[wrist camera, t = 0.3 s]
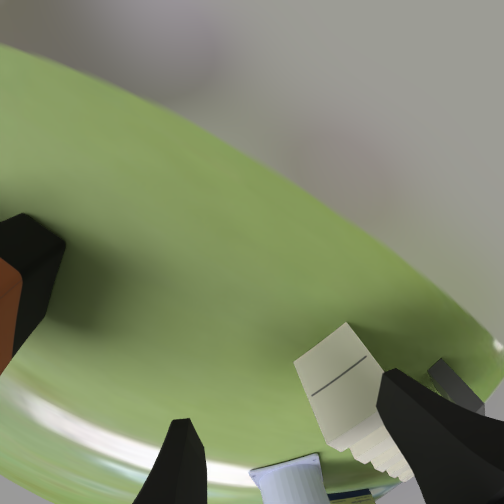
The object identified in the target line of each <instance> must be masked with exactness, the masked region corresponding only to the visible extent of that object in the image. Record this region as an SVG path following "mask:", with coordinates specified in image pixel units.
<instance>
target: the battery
mask: <svg viewBox="0 0 504 504" xmlns="http://www.w3.org/2000/svg"><path fill="white" fill-rule="evenodd" d="M64 251H65V242H64V240H63V239H61V238H60V237H58V236H57V235H55V234H54V233H52V232H51V231H49V230H48V229H46V228H45V227H43V226H42V225H40V224H39V223H37V222H36V221H34V220H33V219H32V218H30V217H29V216H27V215H26V214H24V213H21V214H19V215H16V216H14V217H11V218H9V219H7V220H5V221H2V222H0V375H1V374H2V372H3V371H4V369H5V368H6V367H7V365H8V364H9V362H10V361H11V360H12V358H13V357H14V355H15V354H16V353H17V351H18V350H19V349H20V347H21V346H22V345H23V343H24V342H25V341H26V339H27V338H28V337H29V336H30V334H31V333H32V332H33V330H34V329H35V328H36V327H37V325H38V324H39V323H40V322H41V321H42V319H43V318H44V316H45V314H46V310H47V306H48V302H49V299H50V295H51V292H52V288H53V285H54V281H55V278H56V275H57V272H58V269H59V265H60V262H61V260H62V257H63V254H64Z"/></svg>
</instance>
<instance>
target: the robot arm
mask: <svg viewBox="0 0 504 504" xmlns="http://www.w3.org/2000/svg"><path fill="white" fill-rule="evenodd" d="M376 408H377V411H378V413H379V415H380V418H381V420H382V422H383V424H384V426H385V428H386V429H387V431H388V433H389V434H390V436H391V437H392V439H393V441H394V442H395V444H396V445H397V447H398V449H399V450H400V452H401V453H402V455H403V456H404V458H405V460H406V461H407V463H408V464H409V466H410V468H411V470H412V472H413V474H414V476H415V478H416V480H417V482H418V485H419V487H420V489H421V492H422V494H423V497H424V499H425V502H426V504H504V421H500V420H496V419H493V418H489V417H486V416H483V415H480V414H478V413H475V412H472V411H470V410H468V409H465V408H463V407H461V406H459V405H457V404H455V403H453V402H451V401H449V400H447V399H445V398H443V397H442V396H440V395H438V394H436V393H435V392H433V391H431V390H430V389H428V388H426V387H425V386H423V385H422V384H420V383H418V382H417V381H415V380H414V379H412V378H411V377H409V376H408V375H406V374H404V373H403V372H401V371H400V370H398V369H397V368H394V369H392V370H389V371H387V372H384V373H382V378H381V383H380V388H379V393H378V398H377V402H376ZM249 475H250V477H251V478H252V480H253V481H254V482H255V484H256V485H257V486H258V488H259V489H260V490H261V494H262V499H263V504H330V501H329V498H328V496H327V493H326V490H325V487H324V485H323V476H322V471H321V466H320V461H319V456H318V454H316V453H315V454H311V455H308V456H305V457H302V458H298V459H295V460H291V461H288V462H284V463H281V464H277V465H273V466H269V467H264V468H260V469H256V470H251V471H249ZM132 504H207V467H206V459H205V451H204V446H203V444H202V442H201V440H200V438H199V437H198V435H197V433H196V431H195V429H194V426H193V424H192V422H191V420H190V418H187V419H176V420H173V421H172V422H171V424H170V427H169V430H168V432H167V435H166V438H165V440H164V443H163V445H162V448H161V450H160V452H159V455H158V457H157V459H156V461H155V463H154V466H153V468H152V470H151V472H150V474H149V476H148V477H147V479H146V481H145V483H144V485H143V487H142V489H141V490H140V492H139V494H138V495H137V497H136V499H135V500H134V502H133V503H132Z"/></svg>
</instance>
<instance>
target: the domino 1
mask: <svg viewBox="0 0 504 504" xmlns="http://www.w3.org/2000/svg"><path fill="white" fill-rule="evenodd" d="M293 363H294V365H295V368H296V370H297V373H298V375H299V378H300V380H301V383H302V385H303V388H304V390H305V392H306V395H307V397H308V400H309V402H310V405H311V407H312V410H313V412H314V414H315V417H316V419H317V422H318V424H319V427H320V429H321V432H322V434H323V436H324V439H325V441H326V444H327V445H329V446H331V447H333V448H335V449H336V450H338V451H340V452H342V451H344V450H346V449H347V448H349V447H351V446H352V445H354V444H355V443H357V442H359V441H360V440H362V439H363V438H365V437H366V436H368V435H369V434H371V433H372V432H374V431H375V430H377V429H378V428H380V427H381V426H383V425H384V424H383V422H382V420H381V418H380V415H379V413H378V411H377V408H376V402H377V398H378V393H379V388H380V383H381V378H382V373H384V371H383V369H382V368H381V367H380V365H379V364H378V363H377V361H376V360H375V359H374V357H373V356H372V355H371V353H370V352H369V351H368V349H367V348H366V347H365V345H364V344H363V343H362V342H361V340H360V339H359V338H358V336H357V335H356V334H355V332H354V331H353V330H352V329H351V327H350V326H349V325H348V323H347V322H345V323H344V324H343V325H341V326H340V327H339V328H338V329H336V330H335V331H334V332H333V333H331V334H330V335H329V336H327V337H326V338H325V339H324V340H322V341H321V342H320V343H318V344H317V345H316V346H314V347H313V348H312V349H310V350H309V351H308V352H306V353H305V354H303V355H302V356H301V357H299V358H298V359H297V360H295V361H294V362H293Z"/></svg>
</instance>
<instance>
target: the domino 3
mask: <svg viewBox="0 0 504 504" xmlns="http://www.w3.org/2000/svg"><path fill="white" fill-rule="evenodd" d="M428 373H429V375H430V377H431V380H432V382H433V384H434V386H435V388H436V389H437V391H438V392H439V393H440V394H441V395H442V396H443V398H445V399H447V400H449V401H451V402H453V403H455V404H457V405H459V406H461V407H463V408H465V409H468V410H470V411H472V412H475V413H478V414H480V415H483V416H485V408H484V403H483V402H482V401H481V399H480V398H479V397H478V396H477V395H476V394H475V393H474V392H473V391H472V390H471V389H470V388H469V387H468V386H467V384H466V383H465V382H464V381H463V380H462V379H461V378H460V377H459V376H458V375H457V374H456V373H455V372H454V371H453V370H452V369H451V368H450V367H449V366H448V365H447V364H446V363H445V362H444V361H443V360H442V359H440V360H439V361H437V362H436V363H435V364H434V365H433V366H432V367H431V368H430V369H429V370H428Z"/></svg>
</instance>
